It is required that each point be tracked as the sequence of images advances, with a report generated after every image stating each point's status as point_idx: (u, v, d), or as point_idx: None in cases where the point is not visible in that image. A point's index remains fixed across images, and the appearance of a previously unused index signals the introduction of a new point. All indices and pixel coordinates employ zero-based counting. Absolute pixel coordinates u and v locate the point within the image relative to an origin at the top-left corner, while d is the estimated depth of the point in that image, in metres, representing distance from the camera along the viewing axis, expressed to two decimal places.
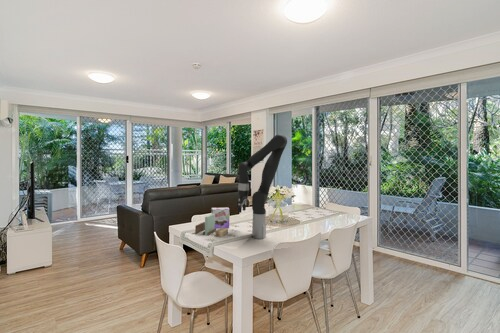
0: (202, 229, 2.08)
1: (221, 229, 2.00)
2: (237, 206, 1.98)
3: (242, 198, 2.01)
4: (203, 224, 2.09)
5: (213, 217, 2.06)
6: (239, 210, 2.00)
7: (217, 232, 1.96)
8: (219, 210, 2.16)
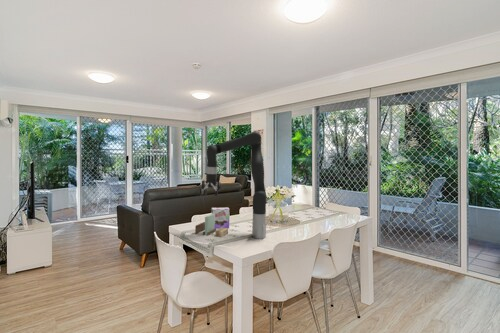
0: (202, 229, 2.08)
1: (221, 229, 2.01)
2: None
3: None
4: (203, 224, 2.09)
5: (213, 217, 2.06)
6: (217, 193, 2.00)
7: (217, 232, 1.96)
8: (219, 210, 2.16)
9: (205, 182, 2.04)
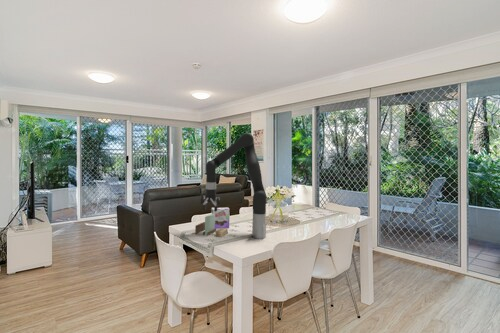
0: (202, 229, 2.08)
1: (221, 229, 2.00)
2: (218, 205, 1.99)
3: (215, 196, 2.02)
4: (203, 224, 2.09)
5: (213, 217, 2.06)
6: (216, 209, 2.01)
7: (217, 232, 1.95)
8: (219, 210, 2.16)
9: (204, 197, 2.04)
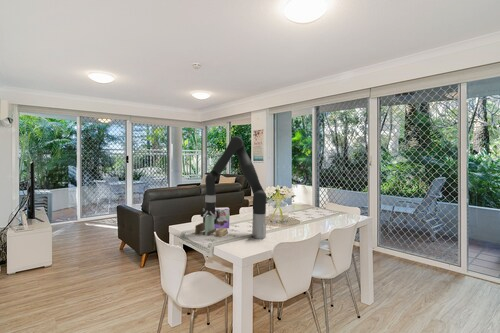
0: (202, 229, 2.08)
1: (221, 229, 2.01)
2: None
3: None
4: (203, 224, 2.09)
5: (213, 217, 2.06)
6: (216, 221, 2.01)
7: (217, 232, 1.96)
8: (219, 210, 2.16)
9: (204, 210, 2.04)
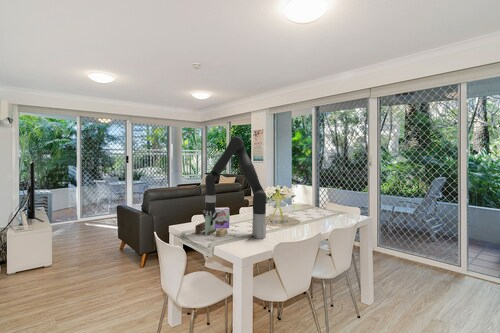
0: (202, 229, 2.08)
1: (221, 229, 2.00)
2: (214, 219, 2.01)
3: (215, 210, 2.03)
4: (203, 224, 2.09)
5: None
6: (212, 223, 2.02)
7: (218, 232, 1.95)
8: (219, 210, 2.16)
9: None
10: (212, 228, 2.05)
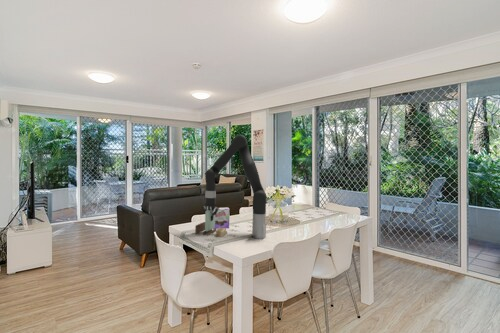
0: (202, 229, 2.08)
1: (220, 229, 2.00)
2: None
3: (215, 205, 2.02)
4: (203, 224, 2.09)
5: None
6: (212, 218, 2.02)
7: (218, 232, 1.95)
8: (219, 210, 2.16)
9: (205, 207, 2.04)
10: (212, 223, 2.05)
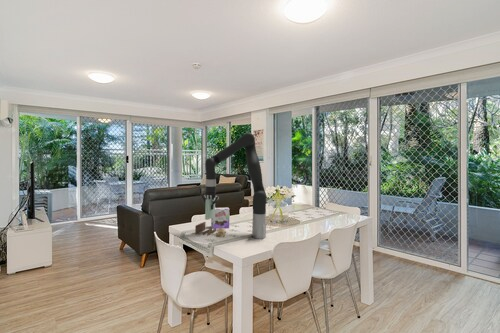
0: (202, 229, 2.08)
1: (220, 229, 2.00)
2: (214, 203, 2.00)
3: (215, 194, 2.02)
4: (203, 224, 2.09)
5: None
6: (212, 207, 2.02)
7: (221, 233, 1.95)
8: (219, 210, 2.16)
9: None
10: (212, 212, 2.04)
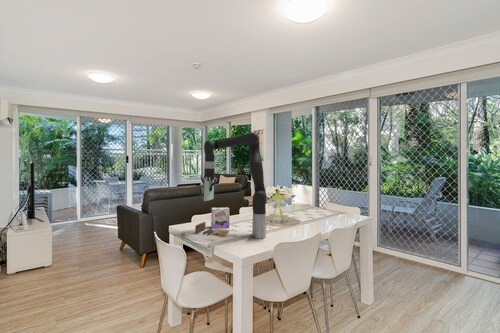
0: (202, 229, 2.08)
1: (220, 229, 2.00)
2: (213, 185, 2.04)
3: (214, 176, 2.05)
4: (203, 224, 2.09)
5: None
6: (211, 189, 2.05)
7: (227, 232, 1.98)
8: (219, 210, 2.16)
9: (204, 178, 2.07)
10: (211, 194, 2.08)
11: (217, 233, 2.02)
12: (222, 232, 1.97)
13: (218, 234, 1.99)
